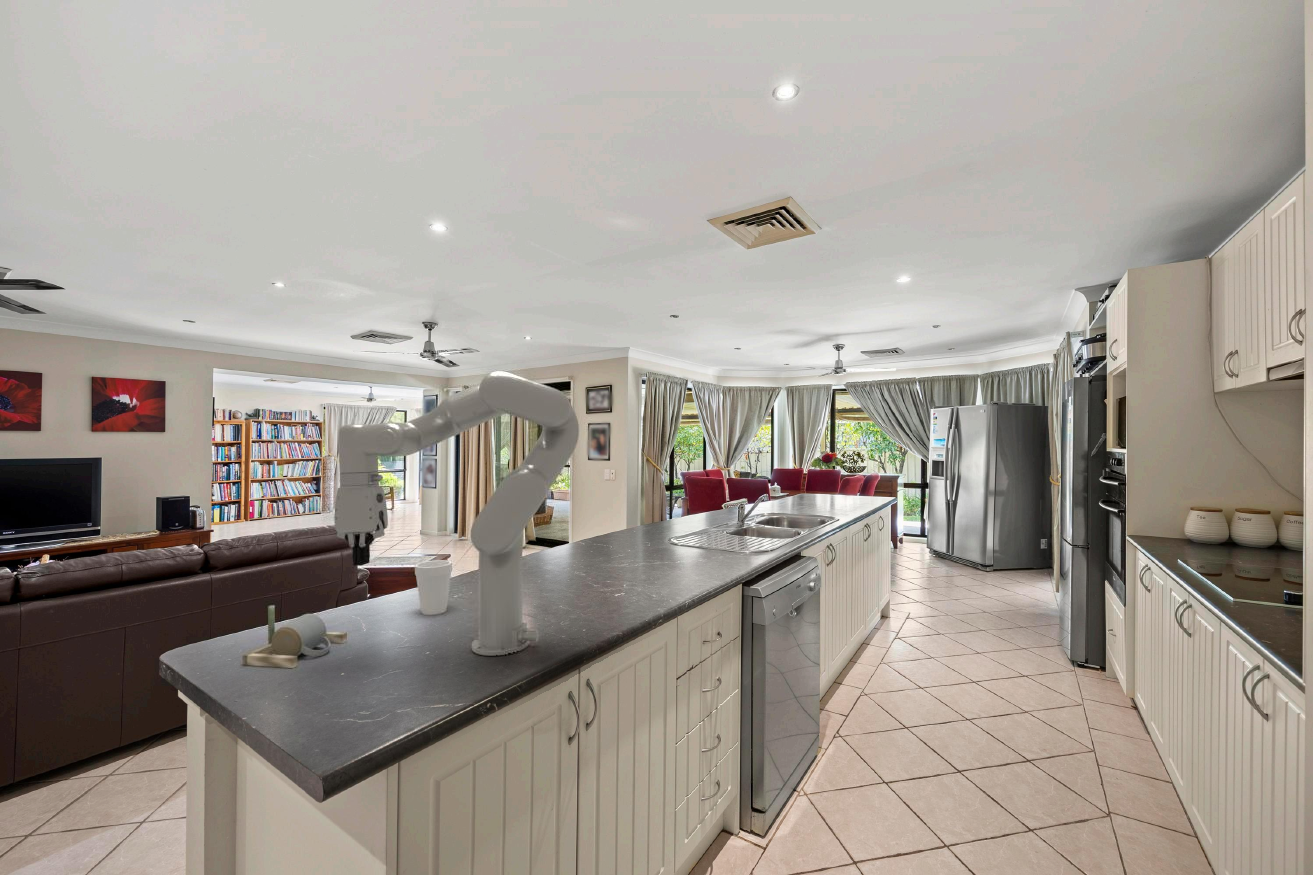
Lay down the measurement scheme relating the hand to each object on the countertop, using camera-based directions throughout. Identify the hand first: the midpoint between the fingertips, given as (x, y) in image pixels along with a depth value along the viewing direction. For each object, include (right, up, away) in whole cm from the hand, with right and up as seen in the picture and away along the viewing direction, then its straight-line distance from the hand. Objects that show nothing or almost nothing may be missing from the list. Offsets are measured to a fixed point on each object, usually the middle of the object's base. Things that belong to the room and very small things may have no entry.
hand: (361, 564), depth 121 cm
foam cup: (+4, -20, +30) cm, 37 cm away
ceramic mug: (-13, -20, +1) cm, 24 cm away
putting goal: (-14, -20, +1) cm, 25 cm away
